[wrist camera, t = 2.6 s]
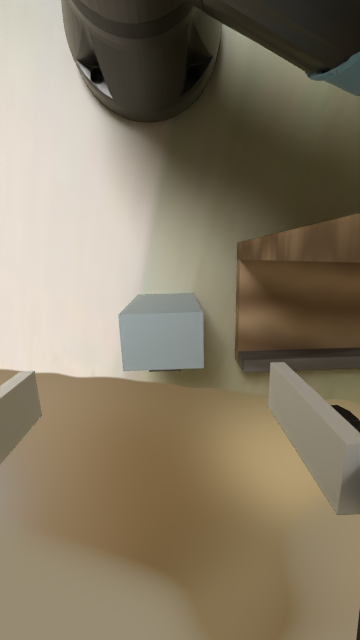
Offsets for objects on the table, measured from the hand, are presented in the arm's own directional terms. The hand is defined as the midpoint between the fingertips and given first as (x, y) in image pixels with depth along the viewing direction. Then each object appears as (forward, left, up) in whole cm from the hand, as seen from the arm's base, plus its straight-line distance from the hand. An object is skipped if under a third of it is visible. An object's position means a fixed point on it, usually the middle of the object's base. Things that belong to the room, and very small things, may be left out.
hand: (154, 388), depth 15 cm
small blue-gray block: (0, 0, -20) cm, 20 cm away
